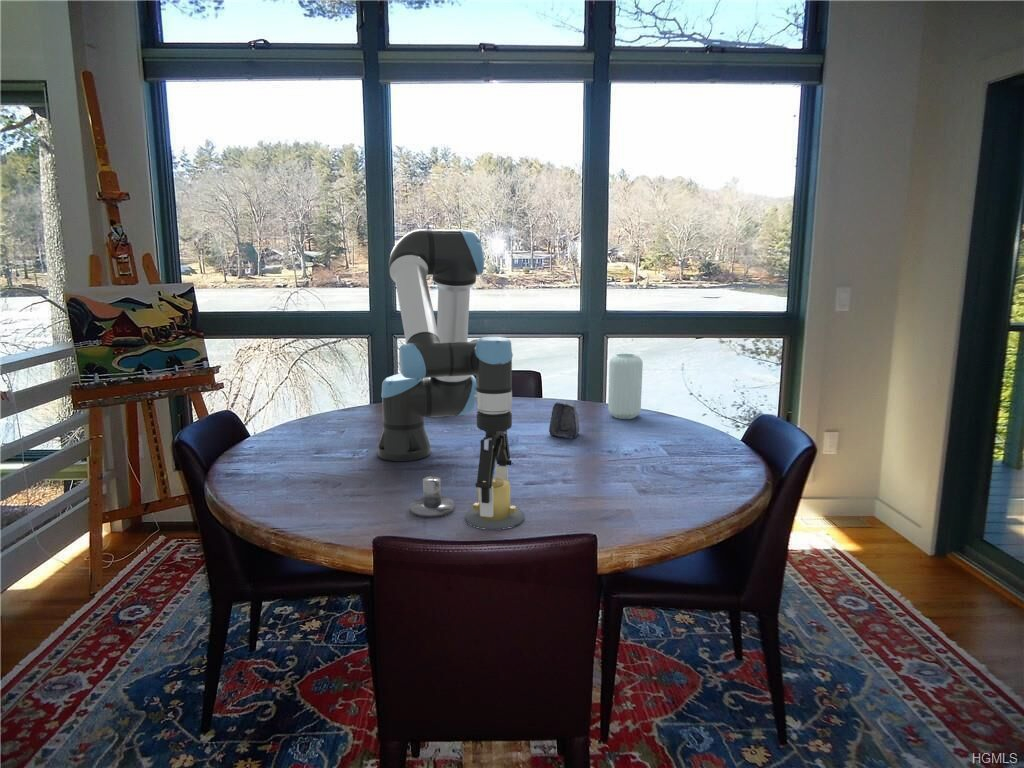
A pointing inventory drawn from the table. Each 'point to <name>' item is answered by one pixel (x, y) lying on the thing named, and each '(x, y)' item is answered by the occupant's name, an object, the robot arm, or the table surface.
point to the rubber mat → (511, 521)
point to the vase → (625, 386)
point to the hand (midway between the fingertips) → (494, 504)
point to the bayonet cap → (498, 501)
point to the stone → (564, 420)
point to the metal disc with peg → (432, 500)
